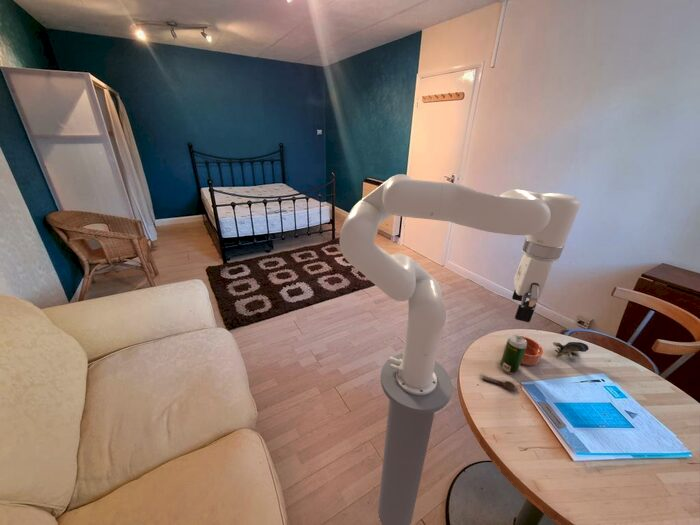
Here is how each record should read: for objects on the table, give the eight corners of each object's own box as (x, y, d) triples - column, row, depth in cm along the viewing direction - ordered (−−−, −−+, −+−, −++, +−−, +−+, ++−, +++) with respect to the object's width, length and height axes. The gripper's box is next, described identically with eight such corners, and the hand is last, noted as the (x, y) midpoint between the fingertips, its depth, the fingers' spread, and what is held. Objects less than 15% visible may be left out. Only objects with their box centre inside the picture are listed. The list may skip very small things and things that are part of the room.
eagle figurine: (573, 366, 92) (593, 355, 95) (565, 345, 93) (585, 335, 95) (552, 361, 100) (571, 351, 102) (545, 342, 100) (564, 332, 102)
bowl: (506, 360, 96) (509, 350, 94) (506, 342, 104) (509, 332, 102) (540, 370, 92) (544, 360, 90) (537, 350, 100) (541, 341, 98)
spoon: (482, 381, 88) (482, 379, 88) (482, 374, 90) (483, 373, 90) (514, 392, 84) (515, 390, 84) (514, 385, 87) (514, 383, 87)
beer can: (515, 377, 90) (525, 348, 84) (497, 368, 93) (506, 340, 88) (519, 367, 93) (529, 339, 88) (502, 359, 96) (511, 332, 91)
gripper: (520, 234, 73) (502, 290, 81) (527, 259, 59) (505, 324, 67) (553, 239, 71) (532, 296, 78) (570, 267, 56) (542, 334, 64)
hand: (520, 309), depth 72 cm, fingers open, 9 cm apart
